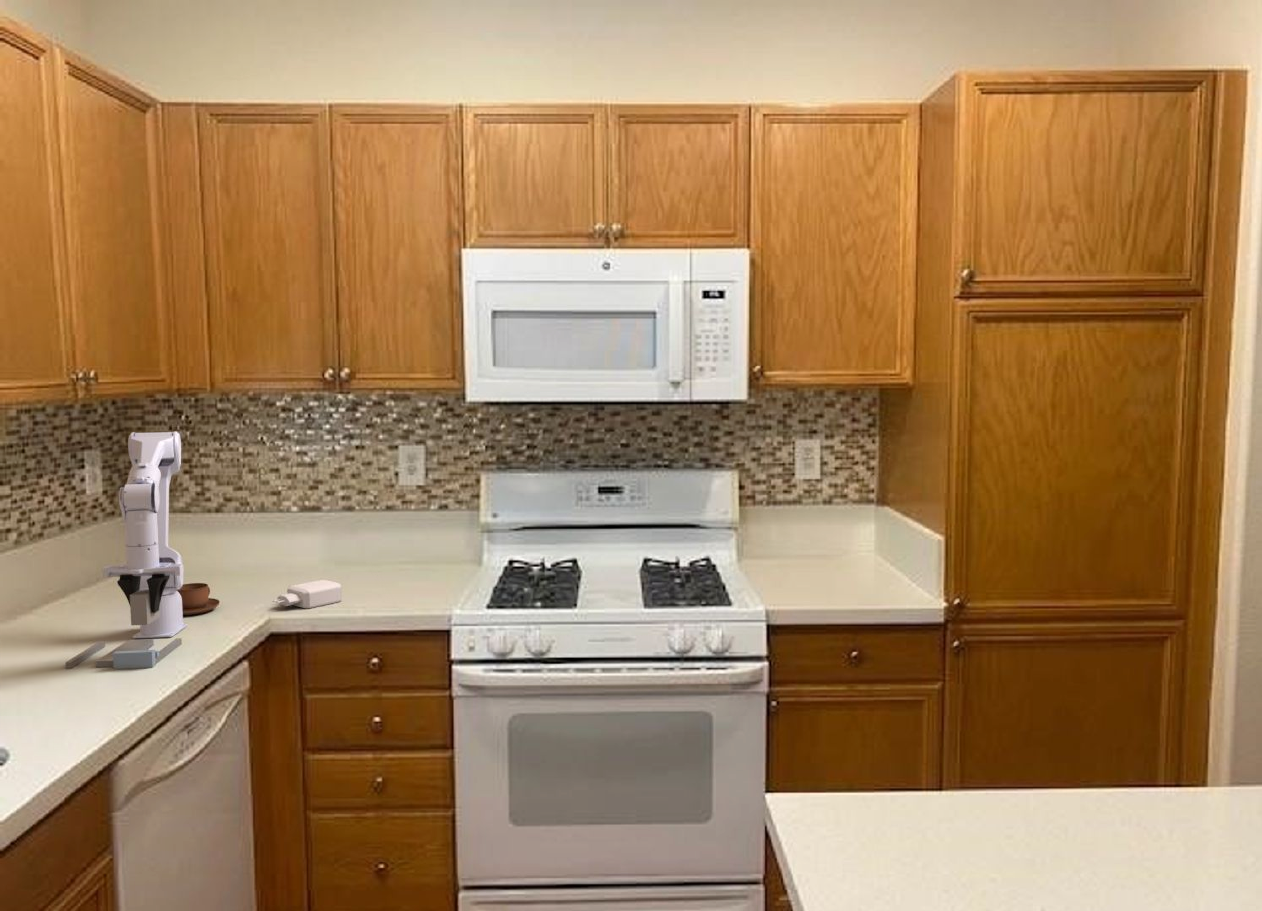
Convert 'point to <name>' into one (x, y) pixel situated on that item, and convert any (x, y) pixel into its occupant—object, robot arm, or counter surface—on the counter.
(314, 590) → the charger
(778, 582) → the counter surface
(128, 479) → the robot arm
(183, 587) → the cup and saucer
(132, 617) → the tall taupe box
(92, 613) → the counter surface
